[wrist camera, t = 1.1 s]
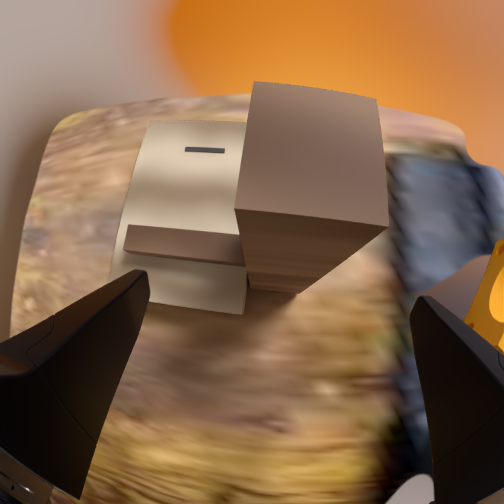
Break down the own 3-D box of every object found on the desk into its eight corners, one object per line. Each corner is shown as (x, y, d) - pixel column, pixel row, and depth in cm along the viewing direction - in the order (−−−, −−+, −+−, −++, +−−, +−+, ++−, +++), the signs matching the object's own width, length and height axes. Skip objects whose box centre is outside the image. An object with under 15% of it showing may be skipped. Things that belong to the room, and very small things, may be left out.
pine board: (243, 315, 22) (241, 314, 20) (120, 296, 23) (106, 293, 20) (263, 140, 25) (264, 123, 23) (157, 136, 26) (149, 120, 23)
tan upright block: (299, 293, 22) (388, 226, 6) (140, 274, 23) (-13, 197, 7) (303, 241, 23) (376, 99, 7) (149, 226, 24) (28, 102, 8)
